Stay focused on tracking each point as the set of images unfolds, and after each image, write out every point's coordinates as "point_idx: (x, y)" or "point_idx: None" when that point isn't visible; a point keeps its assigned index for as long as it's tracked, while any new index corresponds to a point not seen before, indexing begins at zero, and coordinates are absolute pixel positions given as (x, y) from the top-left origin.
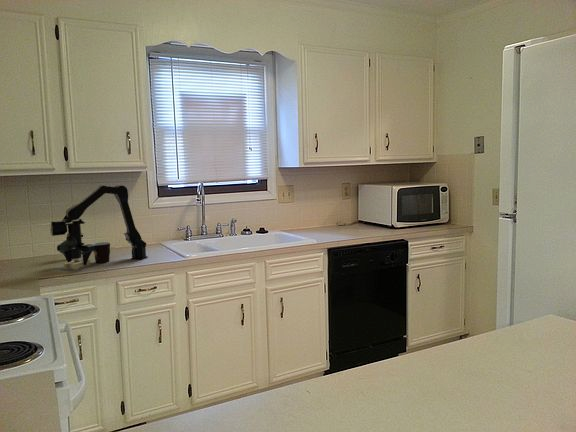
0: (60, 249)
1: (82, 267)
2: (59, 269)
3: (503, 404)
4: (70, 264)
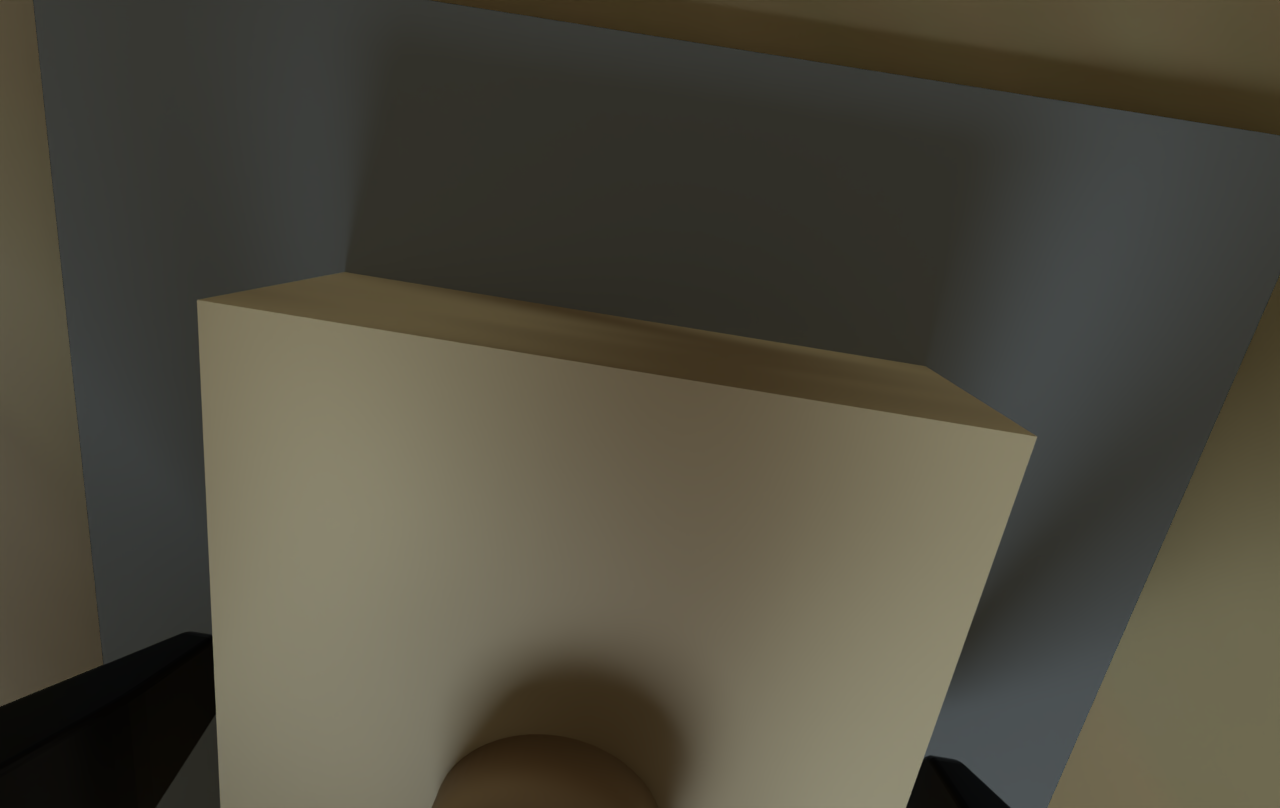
0: None
1: None
2: (1077, 238)
3: None
4: (549, 348)
